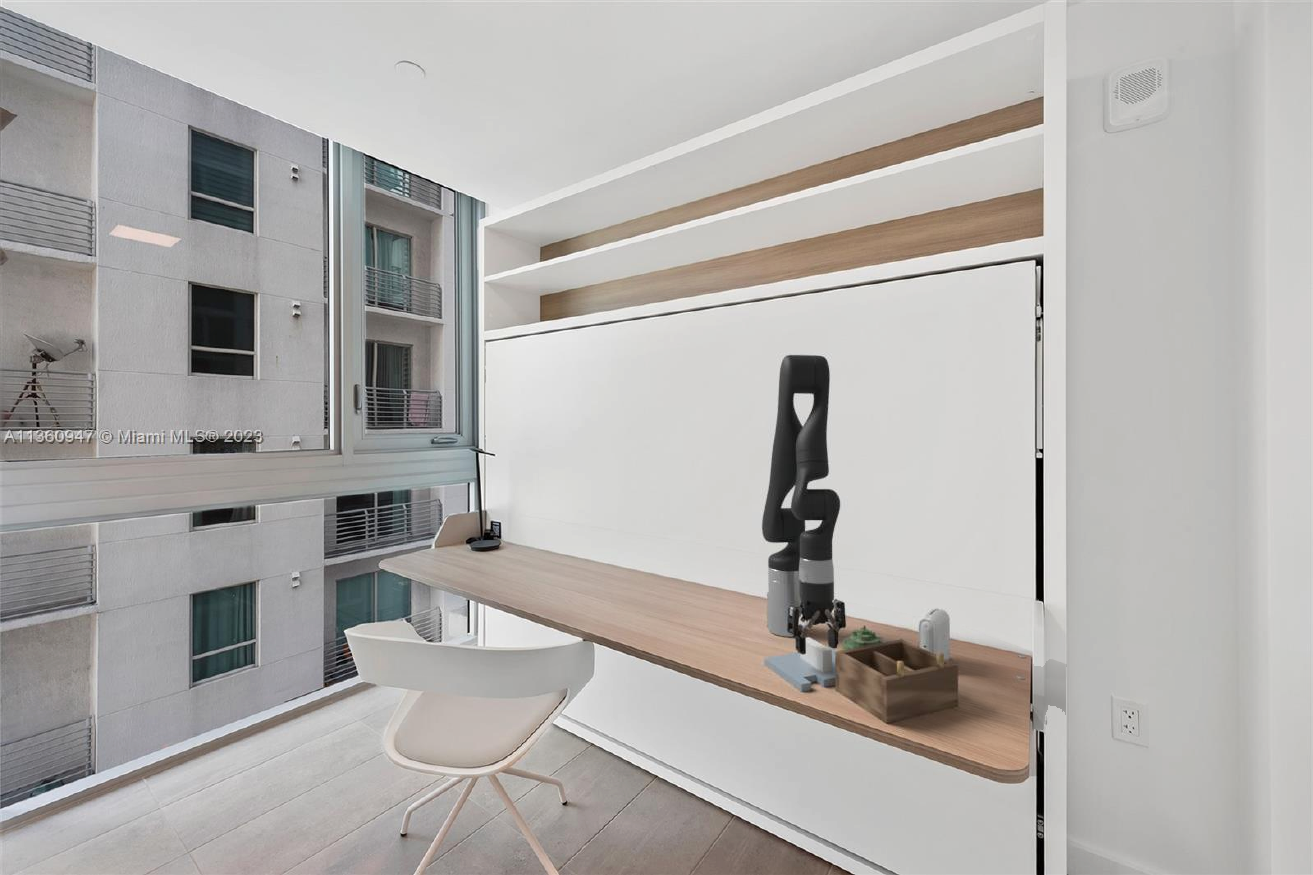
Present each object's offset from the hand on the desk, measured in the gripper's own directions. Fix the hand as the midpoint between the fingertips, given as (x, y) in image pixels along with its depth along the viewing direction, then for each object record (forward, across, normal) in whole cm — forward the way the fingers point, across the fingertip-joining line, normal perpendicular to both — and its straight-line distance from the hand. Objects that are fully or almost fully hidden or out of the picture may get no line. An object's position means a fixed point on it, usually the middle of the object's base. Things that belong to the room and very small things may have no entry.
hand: (817, 650), depth 120 cm
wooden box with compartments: (+5, -7, +15) cm, 18 cm away
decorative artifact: (+5, -17, -4) cm, 18 cm away
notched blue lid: (+5, 0, -1) cm, 5 cm away
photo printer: (+5, -28, +7) cm, 29 cm away
